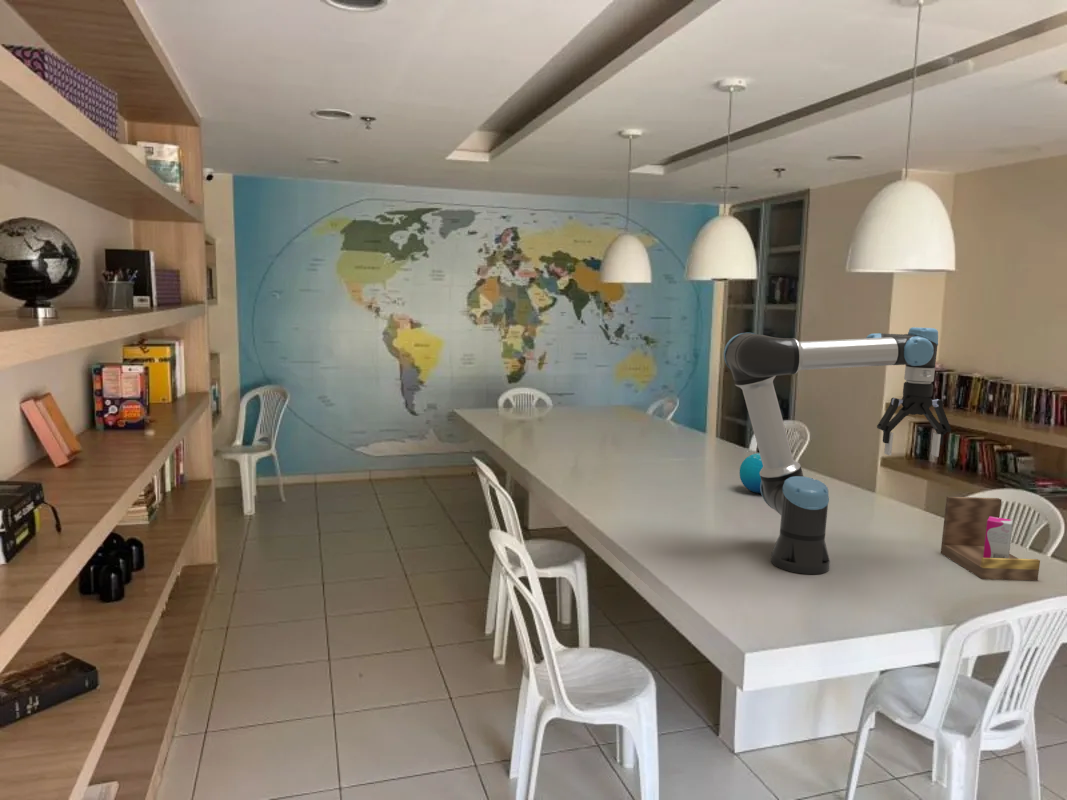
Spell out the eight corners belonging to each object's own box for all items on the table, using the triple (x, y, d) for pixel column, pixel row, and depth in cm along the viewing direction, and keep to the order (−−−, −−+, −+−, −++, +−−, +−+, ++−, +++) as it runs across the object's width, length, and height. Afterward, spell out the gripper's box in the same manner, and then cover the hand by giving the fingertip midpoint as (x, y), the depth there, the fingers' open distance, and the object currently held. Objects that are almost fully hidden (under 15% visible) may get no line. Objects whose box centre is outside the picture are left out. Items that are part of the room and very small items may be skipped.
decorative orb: (774, 488, 287) (777, 450, 285) (783, 498, 272) (786, 458, 270) (734, 486, 289) (737, 448, 287) (741, 496, 274) (744, 456, 272)
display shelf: (981, 578, 198) (988, 517, 195) (940, 553, 217) (946, 496, 215) (1037, 580, 198) (1045, 518, 195) (991, 554, 217) (998, 498, 215)
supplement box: (1009, 559, 204) (1014, 519, 203) (1007, 565, 200) (1012, 524, 198) (984, 554, 208) (989, 515, 206) (982, 560, 203) (986, 520, 201)
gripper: (881, 382, 208) (874, 456, 210) (970, 384, 208) (961, 459, 211) (869, 379, 215) (862, 451, 218) (954, 381, 215) (947, 453, 218)
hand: (911, 455), depth 214 cm, fingers open, 13 cm apart
